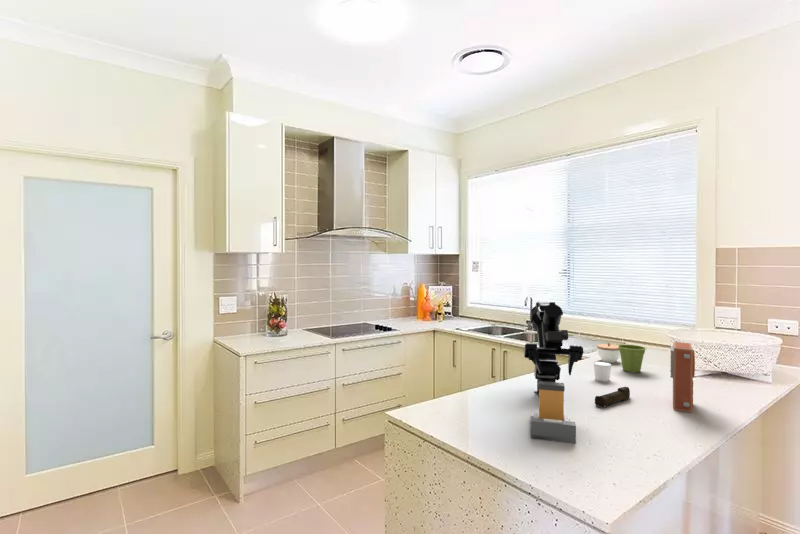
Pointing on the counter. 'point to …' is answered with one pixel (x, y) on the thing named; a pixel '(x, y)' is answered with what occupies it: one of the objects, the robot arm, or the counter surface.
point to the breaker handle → (551, 400)
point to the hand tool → (613, 397)
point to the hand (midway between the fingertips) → (555, 374)
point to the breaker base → (553, 429)
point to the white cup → (602, 371)
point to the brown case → (682, 375)
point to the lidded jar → (608, 352)
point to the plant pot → (631, 357)
